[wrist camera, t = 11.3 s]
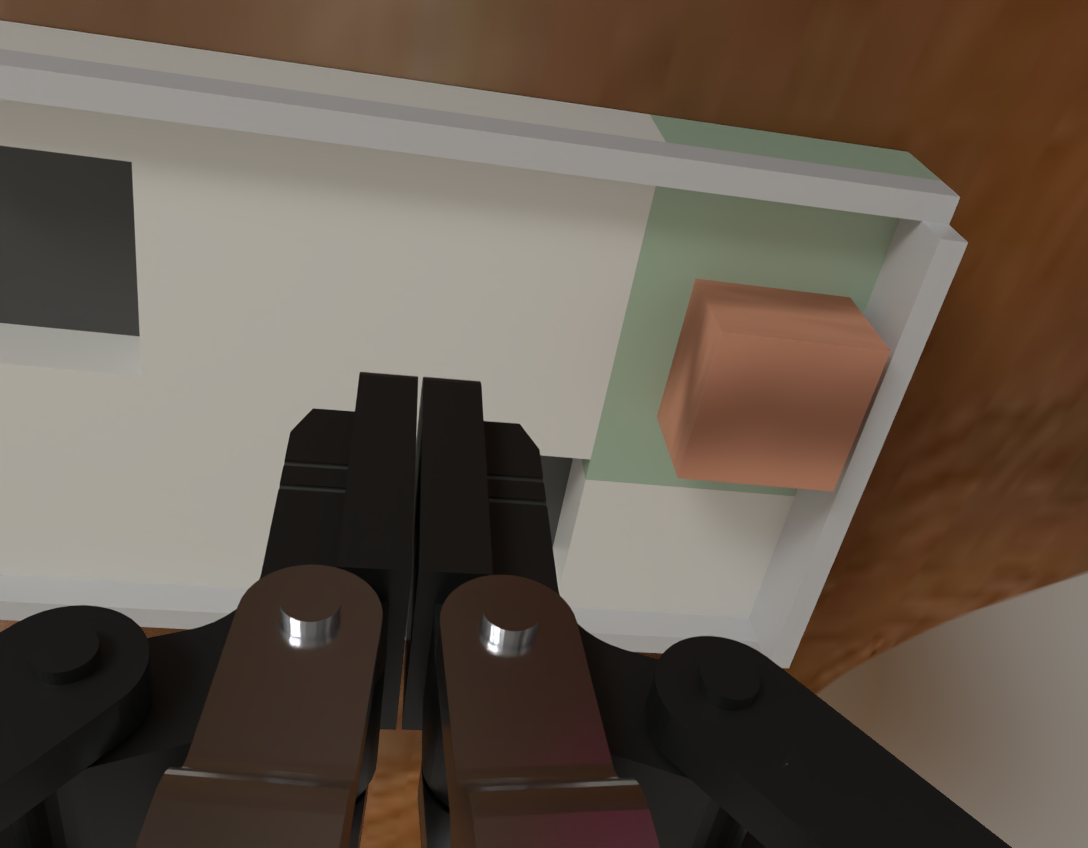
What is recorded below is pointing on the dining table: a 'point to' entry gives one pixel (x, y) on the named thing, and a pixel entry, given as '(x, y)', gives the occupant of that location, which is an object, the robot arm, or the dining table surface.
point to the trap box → (408, 318)
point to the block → (768, 386)
